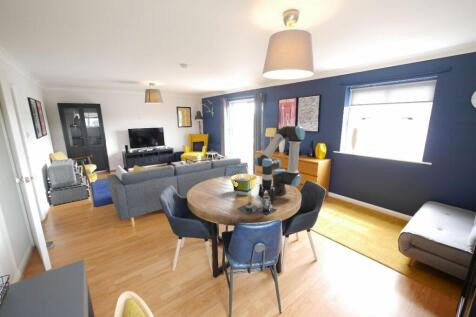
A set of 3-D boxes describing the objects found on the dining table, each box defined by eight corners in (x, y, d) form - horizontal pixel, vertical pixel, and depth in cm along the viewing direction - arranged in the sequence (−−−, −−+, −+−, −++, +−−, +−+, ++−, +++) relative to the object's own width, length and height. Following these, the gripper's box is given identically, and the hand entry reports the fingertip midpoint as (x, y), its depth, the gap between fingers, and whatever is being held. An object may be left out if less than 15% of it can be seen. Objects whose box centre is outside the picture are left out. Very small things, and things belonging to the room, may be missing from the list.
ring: (265, 200, 163) (265, 195, 162) (273, 203, 157) (273, 197, 156) (259, 203, 158) (259, 197, 157) (267, 206, 152) (267, 200, 151)
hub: (249, 203, 171) (249, 193, 169) (261, 209, 161) (261, 197, 159) (237, 208, 162) (237, 197, 160) (249, 214, 152) (249, 203, 150)
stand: (265, 205, 167) (265, 194, 165) (277, 210, 158) (277, 199, 156) (255, 210, 159) (255, 198, 157) (267, 215, 150) (267, 203, 148)
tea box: (251, 192, 197) (251, 178, 194) (247, 196, 188) (247, 181, 185) (237, 190, 203) (237, 176, 200) (233, 193, 194) (233, 179, 191)
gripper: (253, 177, 158) (253, 203, 163) (274, 183, 143) (274, 212, 148) (259, 175, 163) (259, 201, 168) (281, 180, 148) (280, 209, 153)
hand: (266, 206), depth 158 cm, fingers closed on ring, 8 cm apart
